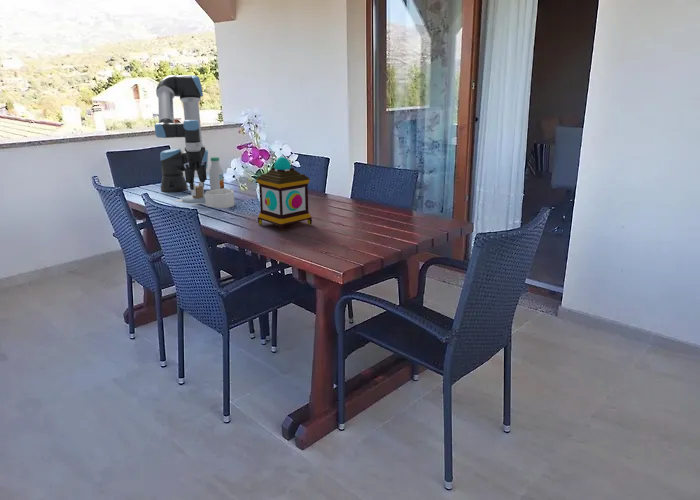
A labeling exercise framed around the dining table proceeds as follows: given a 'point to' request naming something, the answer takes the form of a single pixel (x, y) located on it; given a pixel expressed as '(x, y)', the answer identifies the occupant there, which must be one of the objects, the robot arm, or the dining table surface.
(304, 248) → the dining table surface
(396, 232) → the dining table surface
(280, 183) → the decorative lantern
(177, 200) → the mat
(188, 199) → the lid
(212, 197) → the bowl
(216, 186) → the milk bottle
